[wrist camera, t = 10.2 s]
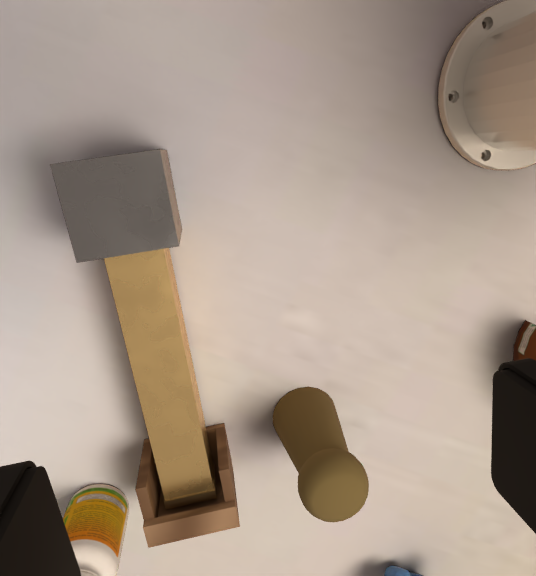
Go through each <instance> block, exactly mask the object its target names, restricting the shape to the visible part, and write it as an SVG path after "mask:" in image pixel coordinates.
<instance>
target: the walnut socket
mask: <svg viewBox="0 0 536 576" xmlns="http://www.w3.org/2000/svg"><path fill="white" fill-rule="evenodd" d="M206 431H207V435H208V440H209V445H210V450H211V455H212V458H213V459H214V464H215V477H216V493H217V498H216V499H211V500H207V501H202V502H198V503H193V504H189V505H184V506H180V507H175V508H171V509H165V505H164V495H163V491H162V487H161V483H160V479H159V475H158V471H157V467H156V463H155V459H154V455H153V451H152V447H151V443H150V439H145V440H144V445H143V450H142V456H141V462H140V467H139V473H138V478H137V484H136V493H137V497H138V500H139V504H140V508H141V511H142V515H143V519H144V524H143V529H144V533H145V536H146V540H147V544H148V547H154V546H158V545H162V544H166V543H171V542H175V541H179V540H184V539H188V538H192V537H197V536H201V535H205V534H209V533H214V532H218V531H222V530H227V529H231V528H235V527H240V524H239V516H238V508H237V499H236V491H235V482H234V474H233V467H232V461H231V456H230V451H229V446H228V440H227V435H226V430H225V425H224V423H223V424H218V425H213V426H208V427H206Z"/></svg>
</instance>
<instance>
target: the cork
mask: <svg viewBox="0 0 536 576" xmlns="http://www.w3.org/2000/svg"><path fill="white" fill-rule="evenodd" d="M273 426H274V428H275V430H276V432H277V434H278V436H279V438H280V440H281V442H282V443H283V445H284V447H285V449H286V451H287V453H288V454H289V456H290V458H291V460H292V462H293V464H294V466H295V467H296V469H297V471H298V473H299V476H298V492H299V496H300V498H301V501H302V503H303V505H304V506H305V508H306V509H307V510H308V511H309V512H310V513H311V514H312V515H313V516H315V517H316V518H318V519H321V520H323V521H326V522H338V521H343V520H346V519H348V518H350V517H352V516H353V515H355V514H356V513H357V512H359V510H360V509H361V508H362V507H363V505H364V503H365V501H366V498H367V495H368V488H369V482H368V477H367V474H366V472H365V469H364V467H363V466H362V464H361V463H360V462H359V461H358V460H357V458H356V457H355V456H353V455H352V454H351V453H349V452H348V448H347V445H346V442H345V438H344V435H343V432H342V429H341V425H340V422H339V419H338V415H337V412H336V409H335V406H334V403H333V401H332V399H331V398H330V397H329V395H328V394H327V393H325V392H324V391H322V390H320V389H318V388H312V387H303V388H298V389H295V390H293V391H290V392H288V393H287V394H286V395H285V396H283V397H282V398H281V399H280V401H279V402H278V403H277V405H276V406H275V409H274V413H273Z"/></svg>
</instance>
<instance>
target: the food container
mask: <svg viewBox="0 0 536 576" xmlns="http://www.w3.org/2000/svg"><path fill="white" fill-rule="evenodd" d="M526 358H531V359H533V360H536V325H534V324H532V323H530V322H528V321H526V320H525V322H524V324H523V325H522V327H521V328H520V330H519V332H518V335H517V338H516V341H515V344H514V353H513V361H516V360H521V359H526Z"/></svg>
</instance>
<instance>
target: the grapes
mask: <svg viewBox="0 0 536 576" xmlns="http://www.w3.org/2000/svg"><path fill="white" fill-rule="evenodd" d="M384 576H422V575H420V574H417V573H412V572H410V573H409V571H408V570H406V569H403V568H400V567H397V566H390V567H388V568H386V571H385V573H384Z"/></svg>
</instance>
